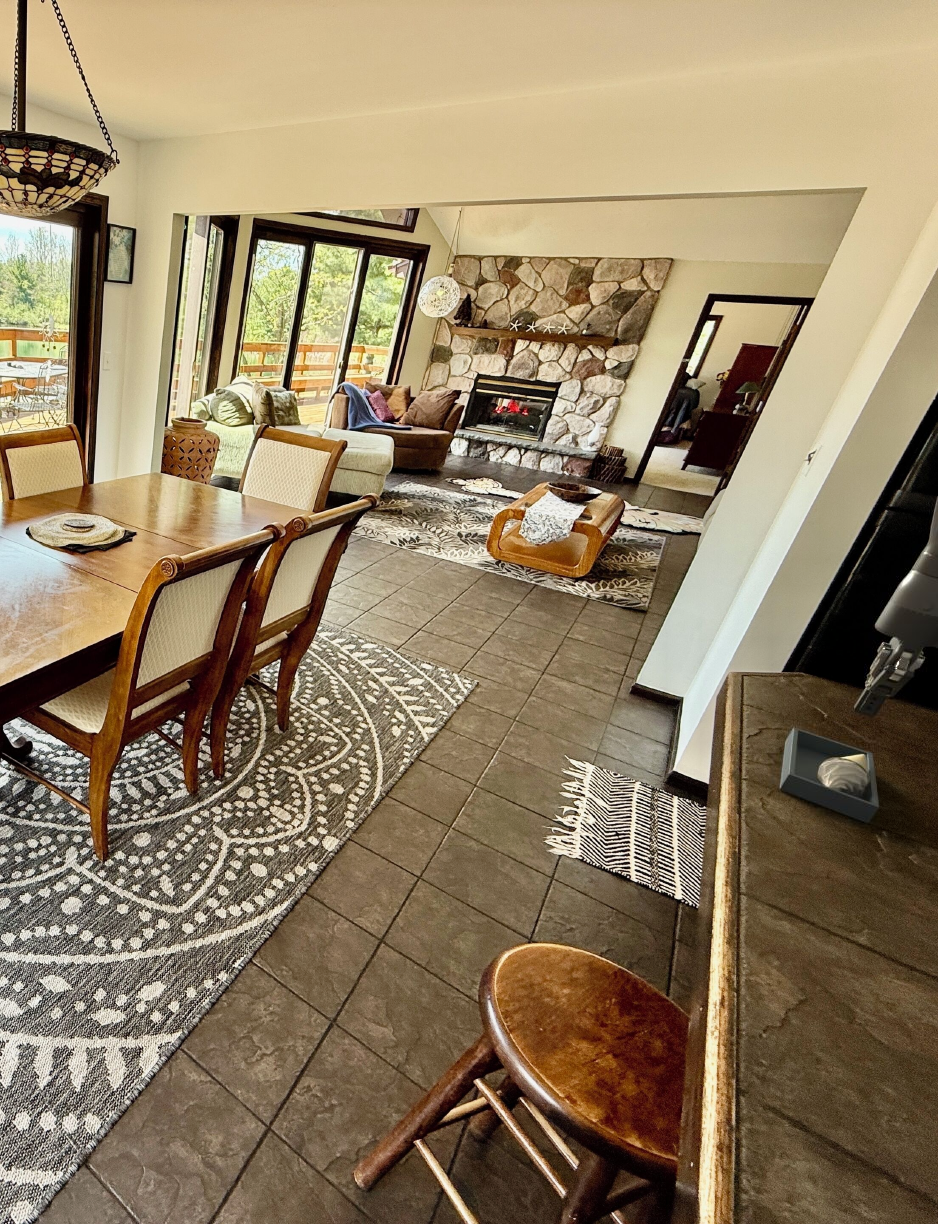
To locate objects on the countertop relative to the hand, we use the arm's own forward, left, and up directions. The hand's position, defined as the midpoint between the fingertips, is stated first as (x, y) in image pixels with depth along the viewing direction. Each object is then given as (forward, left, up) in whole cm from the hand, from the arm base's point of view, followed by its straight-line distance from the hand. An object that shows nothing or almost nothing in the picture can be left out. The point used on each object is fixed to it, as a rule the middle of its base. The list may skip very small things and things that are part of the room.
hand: (863, 712), depth 95 cm
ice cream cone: (-4, -3, -8) cm, 9 cm away
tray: (+1, +2, -11) cm, 12 cm away
